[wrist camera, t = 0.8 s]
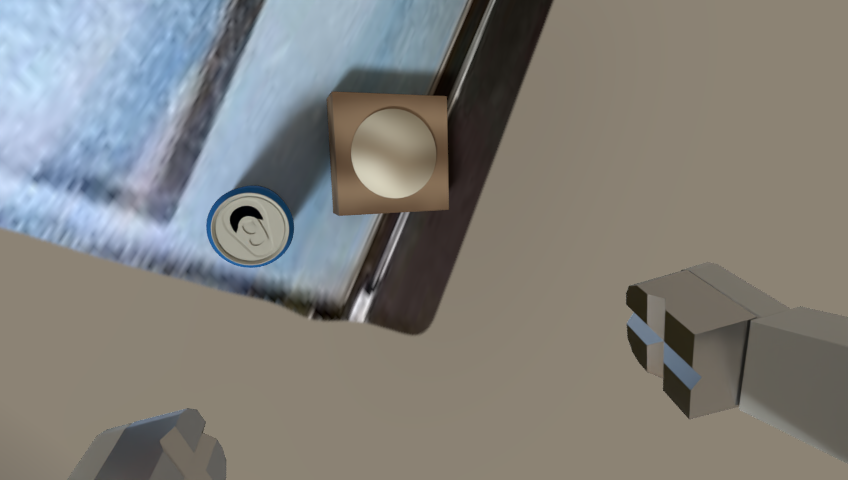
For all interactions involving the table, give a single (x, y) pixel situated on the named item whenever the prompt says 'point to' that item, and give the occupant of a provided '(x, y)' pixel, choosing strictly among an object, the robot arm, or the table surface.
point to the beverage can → (250, 226)
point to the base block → (388, 152)
